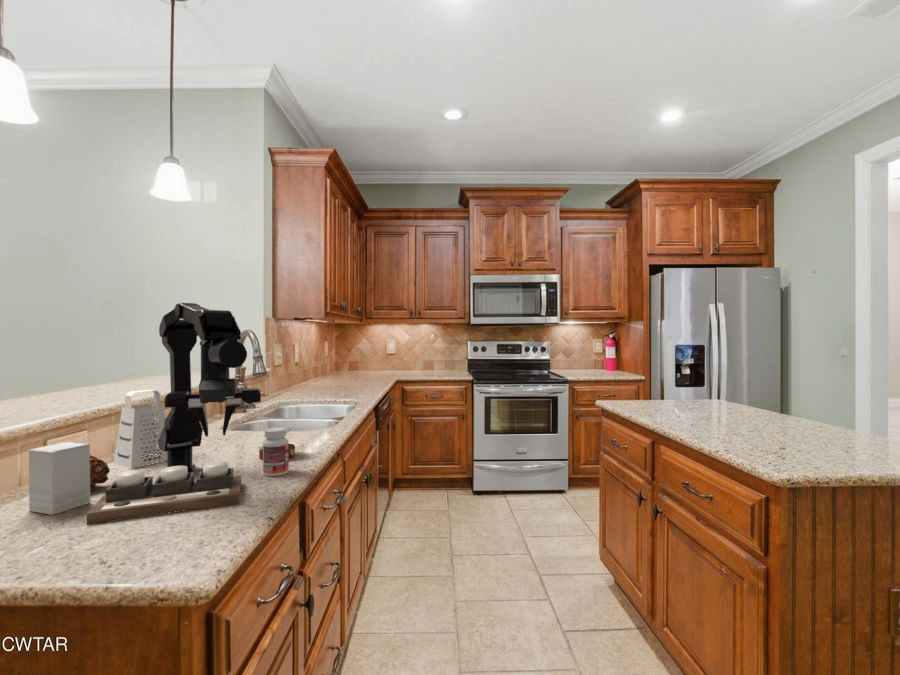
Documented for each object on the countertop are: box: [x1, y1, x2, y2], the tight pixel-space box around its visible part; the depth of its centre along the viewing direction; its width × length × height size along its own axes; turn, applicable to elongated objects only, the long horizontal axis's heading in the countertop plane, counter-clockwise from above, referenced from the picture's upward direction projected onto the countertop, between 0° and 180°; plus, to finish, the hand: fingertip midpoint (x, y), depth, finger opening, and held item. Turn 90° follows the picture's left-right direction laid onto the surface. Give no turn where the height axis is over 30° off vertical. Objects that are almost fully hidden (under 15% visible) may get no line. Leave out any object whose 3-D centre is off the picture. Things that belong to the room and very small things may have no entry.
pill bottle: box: [262, 427, 289, 477], centre depth 117 cm, size 6×6×11 cm
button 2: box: [202, 461, 229, 478], centre depth 102 cm, size 5×5×2 cm
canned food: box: [258, 428, 296, 461], centre depth 133 cm, size 11×10×10 cm
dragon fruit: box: [90, 454, 111, 491], centre depth 105 cm, size 8×8×12 cm
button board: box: [86, 467, 242, 525], centre depth 97 cm, size 14×26×4 cm, turn 113°
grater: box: [113, 389, 169, 469], centre depth 129 cm, size 10×10×20 cm
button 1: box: [115, 469, 146, 488], centre depth 96 cm, size 5×5×2 cm
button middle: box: [160, 466, 188, 483], centre depth 99 cm, size 5×5×2 cm
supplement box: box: [28, 441, 91, 516], centre depth 95 cm, size 7×7×13 cm
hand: (215, 435), depth 102 cm, fingers open, 3 cm apart
